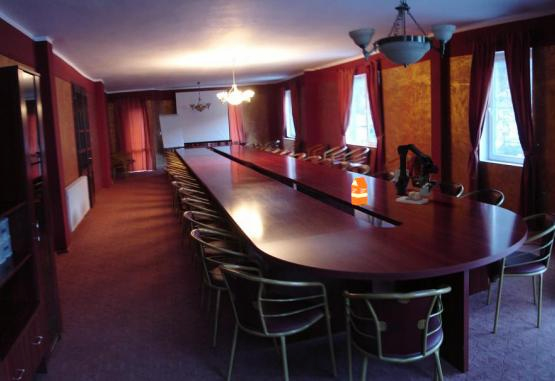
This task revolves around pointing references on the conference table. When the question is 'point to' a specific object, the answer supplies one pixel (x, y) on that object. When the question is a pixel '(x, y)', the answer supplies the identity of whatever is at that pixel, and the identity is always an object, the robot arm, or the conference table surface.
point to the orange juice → (359, 191)
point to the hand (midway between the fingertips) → (425, 193)
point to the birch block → (414, 195)
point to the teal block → (424, 191)
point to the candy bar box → (397, 173)
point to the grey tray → (412, 200)
